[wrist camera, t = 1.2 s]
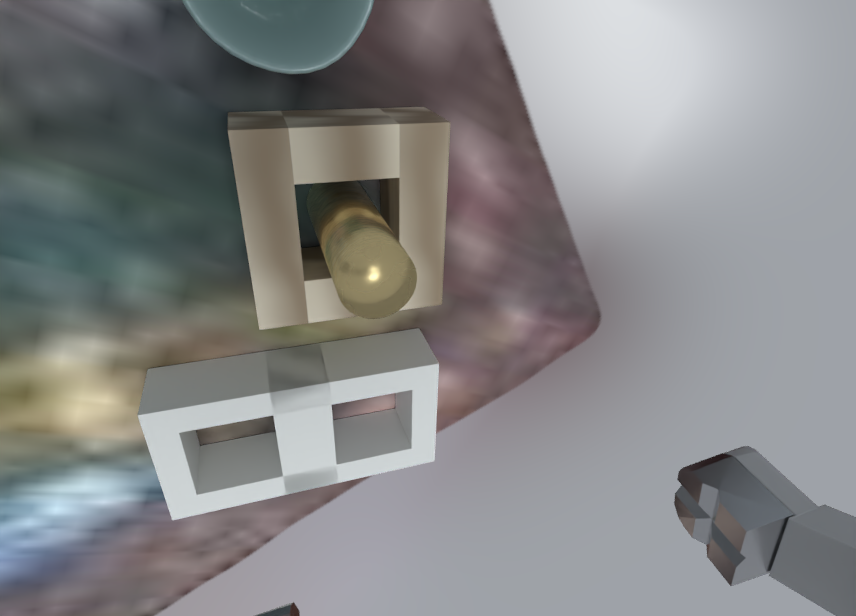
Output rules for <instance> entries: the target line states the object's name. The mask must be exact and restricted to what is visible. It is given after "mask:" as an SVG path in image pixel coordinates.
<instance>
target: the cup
mask: <svg viewBox="0 0 856 616" xmlns="http://www.w3.org/2000/svg"><path fill="white" fill-rule="evenodd" d="M182 2H183V4H184V6H185V8H186V9H187V10H188V12H189V13H190V15H191V16H192V18H193V19H194V21H195V22H196V24H197V25H198V26H199V27H200V28H201V29H202V30H203V31H204V32H205V33H206V34H207V35H208V36H209V37H210V38H211V39H212V40H213V41H214V42H215V43H216V44H218V45H219V46H220V47H222V48H223V49H224V50H226V51H227V52H229V53H230V54H231V55H233V56H235V57H237V58H239V59H241V60H243V61H245V62H247V63H248V64H250V65H253V66H256V67H259V68H262V69H265V70H268V71H271V72H278V73H284V74H307V73H311V72H315V71H318V70H321V69H325V68H326V67H328V66H330V65H331V64H333V63H334V62H336V61H338V60H339V59H340V58H341V57H342V56H343V55H344V54H345V53H346V52H347V51H348V50H349V49H350V48H351V47H352V46H353V45H354V43H355V42H356V40H357V39H358V37H359V35H360V34H361V32H362V31H363V29H364V27H365V24H366V22H367V20H368V18H369V15H370V13H371V10H372V7H373V3H374V0H182Z"/></svg>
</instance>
